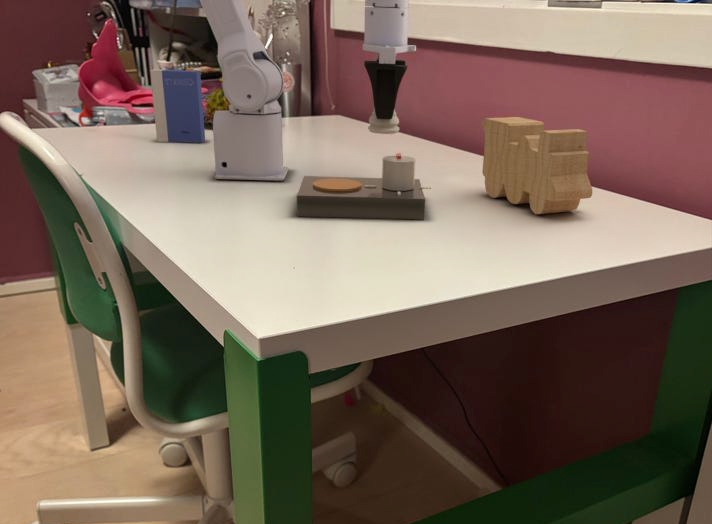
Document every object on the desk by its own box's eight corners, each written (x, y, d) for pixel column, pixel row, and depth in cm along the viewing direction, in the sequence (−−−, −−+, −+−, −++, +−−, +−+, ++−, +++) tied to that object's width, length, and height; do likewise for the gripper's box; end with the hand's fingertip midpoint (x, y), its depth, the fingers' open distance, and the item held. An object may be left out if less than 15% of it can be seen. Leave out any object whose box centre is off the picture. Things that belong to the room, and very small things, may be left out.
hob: (297, 216, 87) (296, 193, 86) (304, 195, 97) (303, 174, 96) (433, 220, 88) (434, 197, 87) (426, 198, 98) (427, 178, 97)
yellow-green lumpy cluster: (178, 127, 144) (173, 74, 139) (210, 117, 158) (206, 68, 154) (263, 133, 141) (261, 79, 137) (288, 122, 156) (286, 73, 151)
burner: (311, 190, 88) (311, 188, 88) (314, 180, 94) (314, 177, 94) (361, 192, 89) (361, 189, 88) (361, 181, 94) (361, 179, 94)
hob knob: (415, 191, 90) (416, 159, 88) (382, 190, 90) (382, 158, 88) (413, 184, 93) (414, 153, 92) (381, 183, 93) (382, 152, 92)
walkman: (205, 140, 132) (200, 68, 127) (201, 143, 129) (196, 69, 124) (160, 139, 132) (153, 66, 126) (156, 141, 129) (149, 68, 124)
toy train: (552, 221, 89) (563, 135, 85) (476, 191, 103) (482, 116, 98) (588, 217, 91) (601, 134, 87) (509, 188, 105) (516, 115, 101)
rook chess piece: (396, 135, 101) (398, 72, 97) (364, 132, 101) (365, 70, 98) (402, 130, 105) (404, 70, 101) (371, 128, 105) (372, 68, 102)
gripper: (421, 9, 90) (416, 125, 96) (413, 8, 103) (409, 111, 109) (363, 6, 89) (361, 123, 95) (363, 6, 102) (361, 109, 108)
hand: (383, 116), depth 102 cm, fingers closed on rook chess piece, 3 cm apart
